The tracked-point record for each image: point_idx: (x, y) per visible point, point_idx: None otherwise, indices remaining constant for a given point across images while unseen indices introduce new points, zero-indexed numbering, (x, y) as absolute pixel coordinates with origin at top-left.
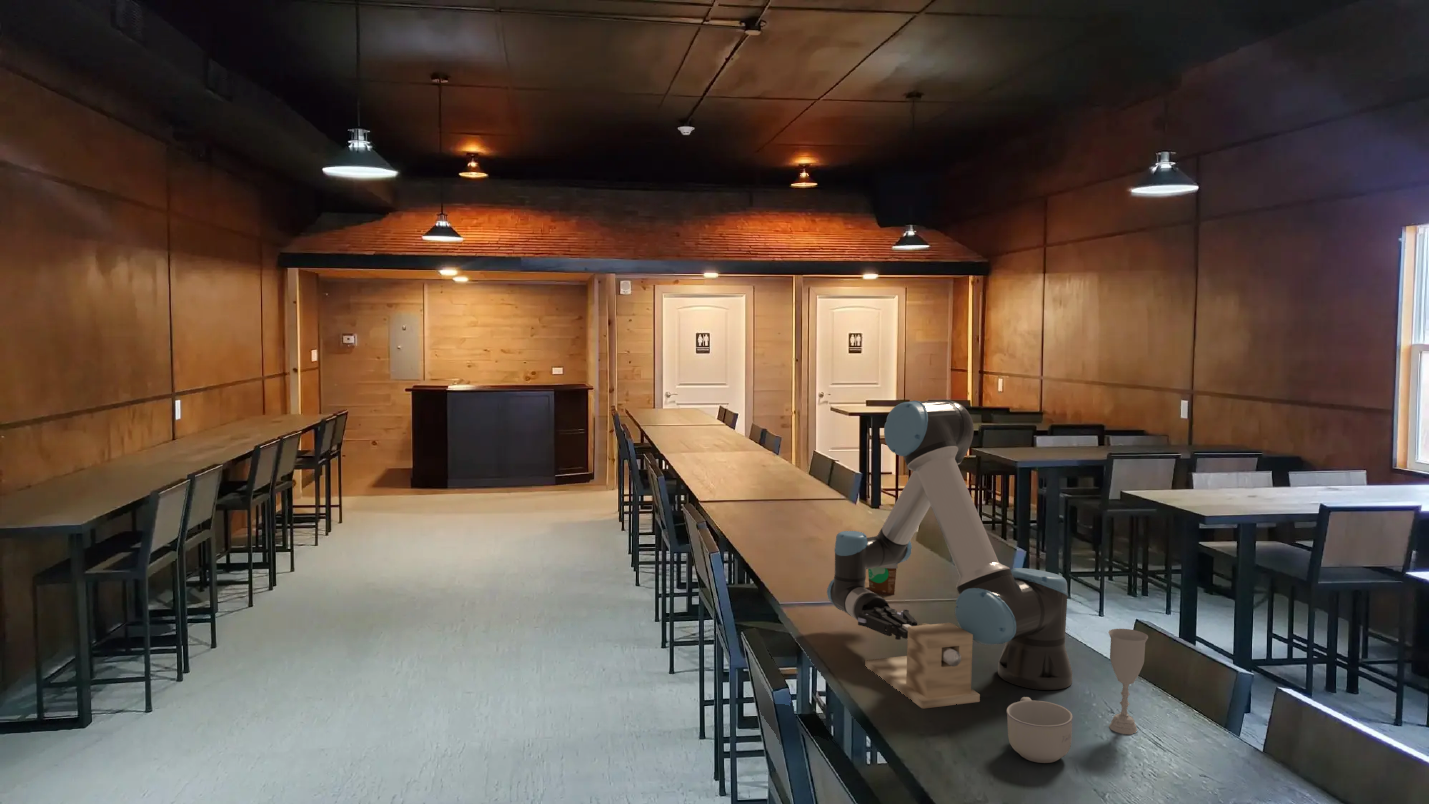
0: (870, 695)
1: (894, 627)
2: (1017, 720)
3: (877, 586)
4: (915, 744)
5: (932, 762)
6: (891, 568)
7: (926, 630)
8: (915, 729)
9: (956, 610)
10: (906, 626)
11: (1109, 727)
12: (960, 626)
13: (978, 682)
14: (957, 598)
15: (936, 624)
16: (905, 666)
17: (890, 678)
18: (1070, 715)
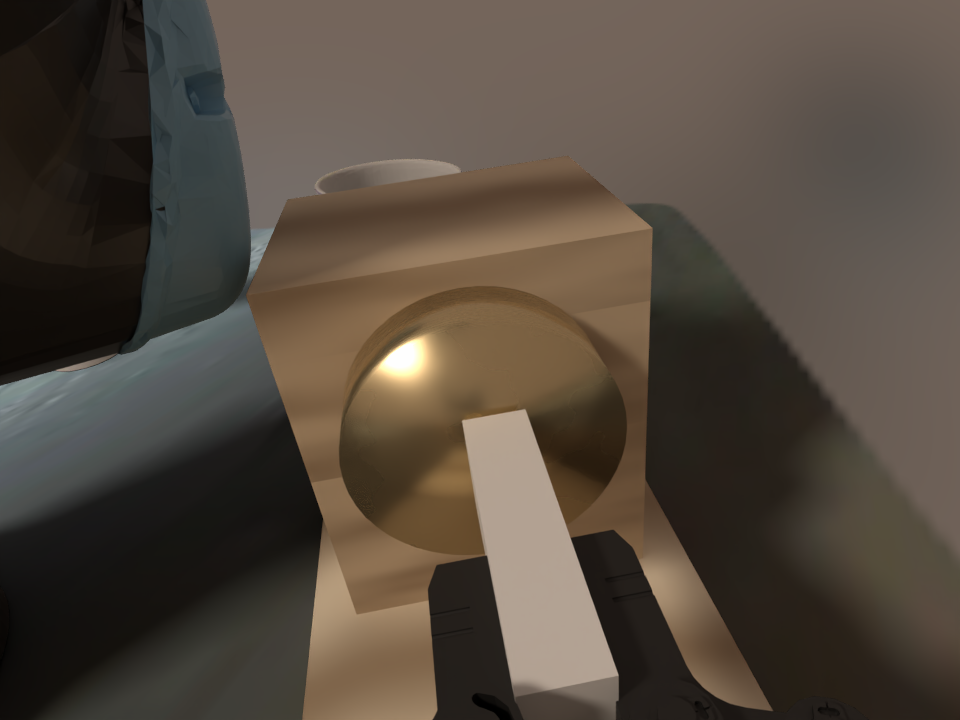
0: (854, 543)
1: (739, 709)
2: (458, 167)
3: None
4: (678, 284)
5: (652, 246)
6: None
7: (532, 204)
8: (664, 330)
9: (235, 128)
10: (574, 597)
11: (115, 354)
12: (248, 251)
13: (148, 691)
14: (201, 7)
15: (392, 266)
16: None
17: (737, 649)
18: (333, 173)
